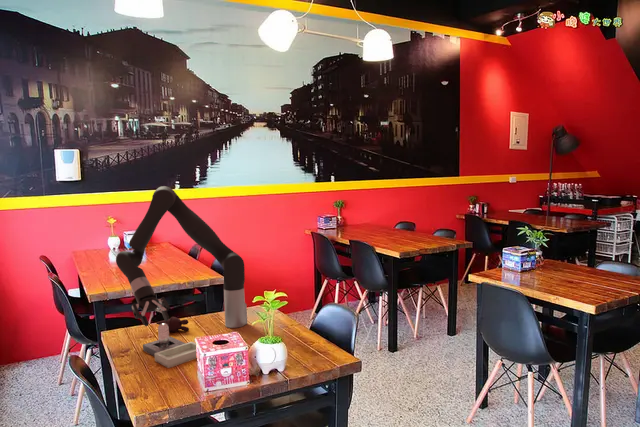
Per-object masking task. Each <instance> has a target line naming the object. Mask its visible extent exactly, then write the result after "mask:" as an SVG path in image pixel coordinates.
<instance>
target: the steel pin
mask: <svg viewBox="0 0 640 427" xmlns="http://www.w3.org/2000/svg"><path fill="white" fill-rule="evenodd" d="M157 332H158V340H159V348H163V347H166V346H169V345H170V344H169V337H170V332H169V327H168V325H167V324H166V323H162V324H160V325H158V327H157Z"/></svg>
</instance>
